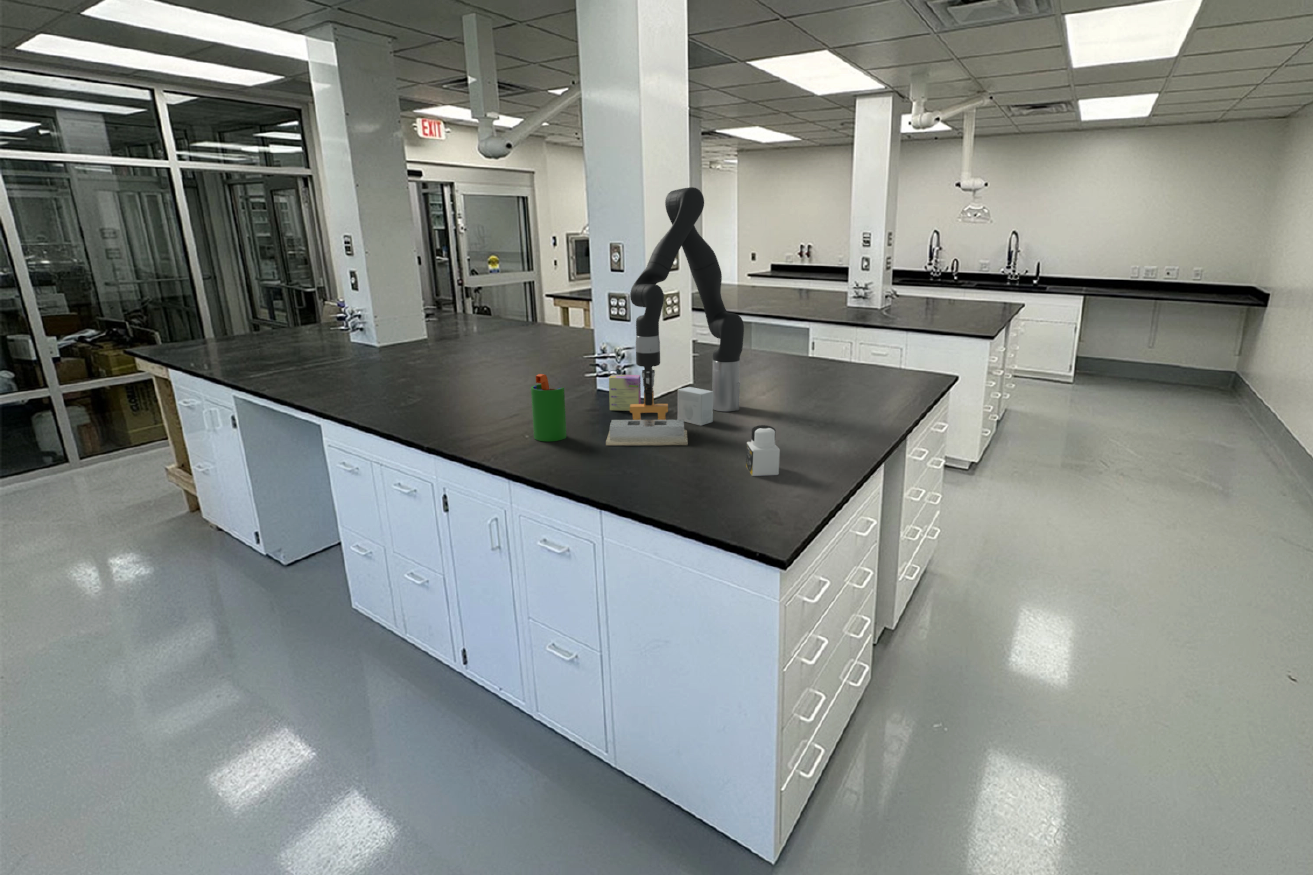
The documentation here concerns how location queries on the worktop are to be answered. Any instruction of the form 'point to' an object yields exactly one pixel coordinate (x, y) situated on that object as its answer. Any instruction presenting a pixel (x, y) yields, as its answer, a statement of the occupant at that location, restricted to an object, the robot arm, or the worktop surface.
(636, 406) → the clip
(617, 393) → the box
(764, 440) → the medicine bottle
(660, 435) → the slotted grey base block
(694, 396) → the skincare box
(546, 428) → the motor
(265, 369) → the worktop surface
